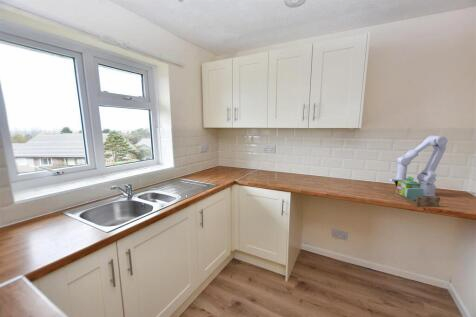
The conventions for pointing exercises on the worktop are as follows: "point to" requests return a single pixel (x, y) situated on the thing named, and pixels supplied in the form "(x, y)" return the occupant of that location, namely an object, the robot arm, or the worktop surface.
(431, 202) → the lane
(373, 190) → the worktop surface
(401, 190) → the chalk box
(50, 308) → the worktop surface
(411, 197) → the follower
